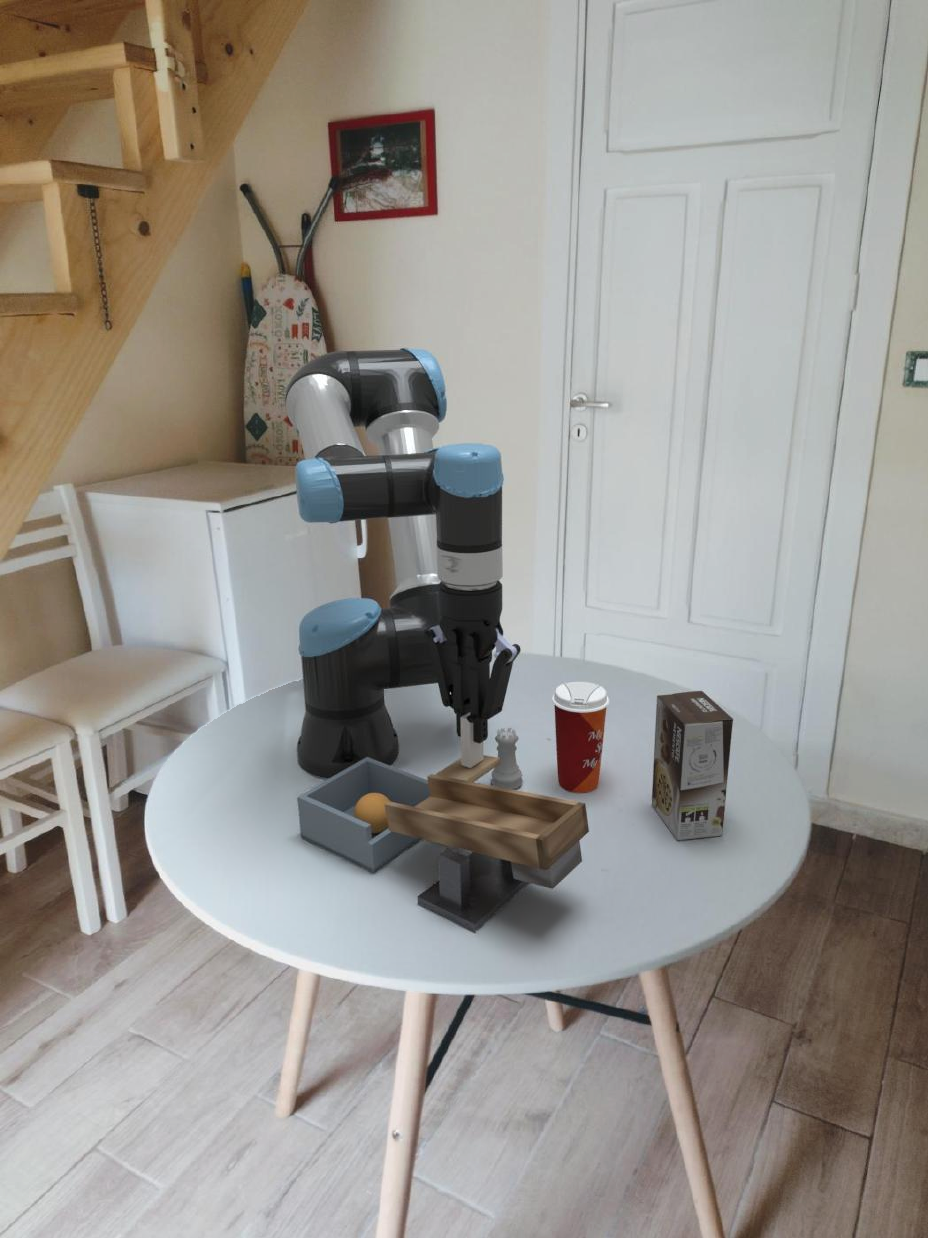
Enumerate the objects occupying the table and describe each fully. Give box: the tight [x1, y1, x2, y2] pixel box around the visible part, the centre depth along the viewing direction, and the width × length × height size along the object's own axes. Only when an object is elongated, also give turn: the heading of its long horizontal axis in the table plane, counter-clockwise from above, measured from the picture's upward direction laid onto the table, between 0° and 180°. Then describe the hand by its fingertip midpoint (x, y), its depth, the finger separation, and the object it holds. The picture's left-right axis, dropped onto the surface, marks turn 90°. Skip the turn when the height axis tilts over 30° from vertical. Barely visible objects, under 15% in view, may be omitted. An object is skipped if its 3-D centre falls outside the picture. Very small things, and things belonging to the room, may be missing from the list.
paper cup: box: [551, 681, 610, 794], centre depth 120 cm, size 8×8×14 cm
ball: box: [354, 793, 391, 833], centre depth 110 cm, size 5×5×5 cm
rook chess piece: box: [490, 727, 524, 790], centre depth 121 cm, size 4×4×8 cm
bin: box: [296, 757, 430, 874], centre depth 110 cm, size 13×13×6 cm
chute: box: [384, 754, 590, 890], centre depth 101 cm, size 22×16×6 cm
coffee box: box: [651, 690, 734, 841], centre depth 110 cm, size 9×6×16 cm
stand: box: [417, 847, 530, 933], centre depth 100 cm, size 8×15×7 cm, turn 142°
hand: (472, 762), depth 109 cm, fingers closed
